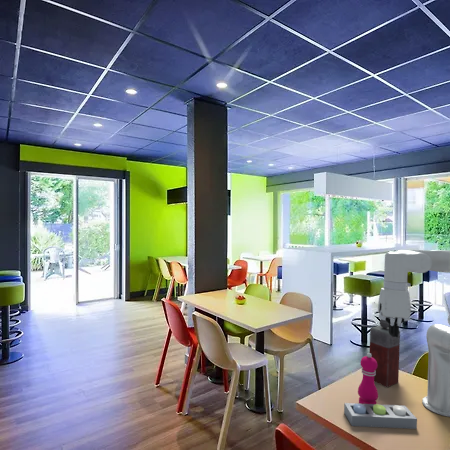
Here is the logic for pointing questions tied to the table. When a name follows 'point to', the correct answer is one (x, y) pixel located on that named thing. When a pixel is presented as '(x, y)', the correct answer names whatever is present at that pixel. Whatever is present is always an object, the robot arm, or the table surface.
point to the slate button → (359, 409)
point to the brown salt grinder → (385, 354)
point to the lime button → (379, 409)
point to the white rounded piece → (399, 410)
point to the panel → (380, 417)
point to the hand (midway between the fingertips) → (393, 335)
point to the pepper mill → (368, 381)
